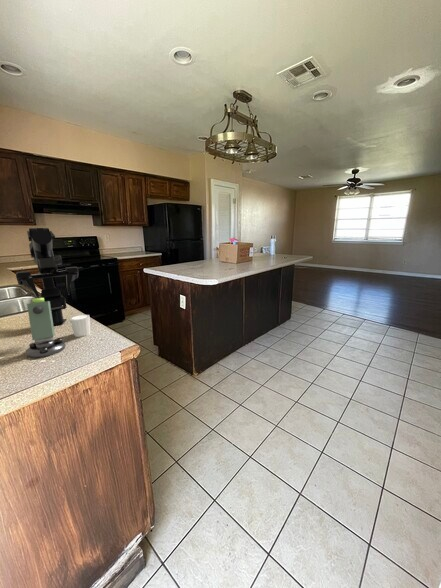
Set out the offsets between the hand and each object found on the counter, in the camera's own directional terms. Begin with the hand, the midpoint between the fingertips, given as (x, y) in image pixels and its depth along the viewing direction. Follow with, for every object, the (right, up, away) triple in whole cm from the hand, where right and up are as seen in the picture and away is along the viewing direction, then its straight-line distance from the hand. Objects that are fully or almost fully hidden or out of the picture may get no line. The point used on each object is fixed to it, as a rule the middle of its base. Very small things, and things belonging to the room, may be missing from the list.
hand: (54, 296), depth 89 cm
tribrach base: (+1, -18, -5) cm, 19 cm away
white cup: (+6, -15, +8) cm, 18 cm away
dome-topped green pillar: (+1, -15, -6) cm, 16 cm away
